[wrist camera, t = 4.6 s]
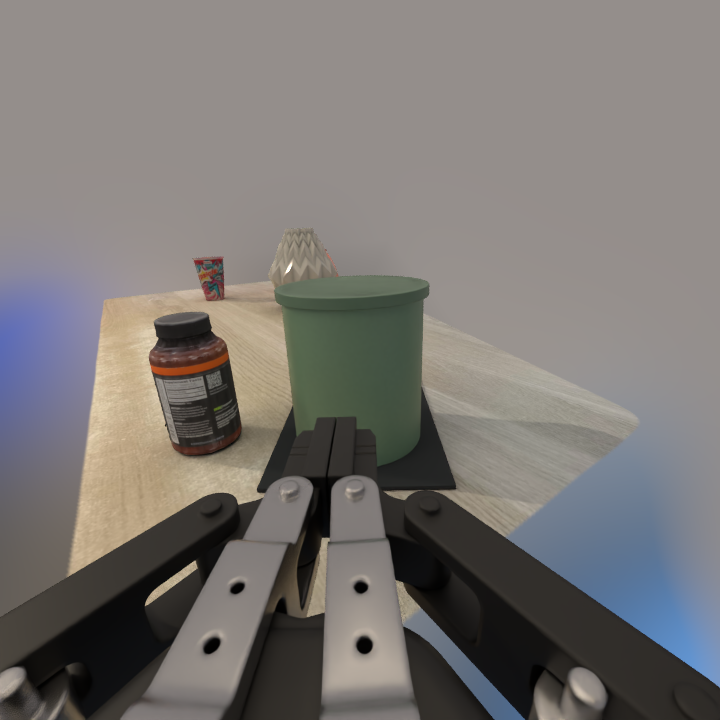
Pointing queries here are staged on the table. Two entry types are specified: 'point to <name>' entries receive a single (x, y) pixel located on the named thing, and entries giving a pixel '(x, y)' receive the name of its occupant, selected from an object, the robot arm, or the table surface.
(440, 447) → the runner
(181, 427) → the supplement bottle
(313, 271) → the vase
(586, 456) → the table surface
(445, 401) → the table surface
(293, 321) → the bucket
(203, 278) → the cup
